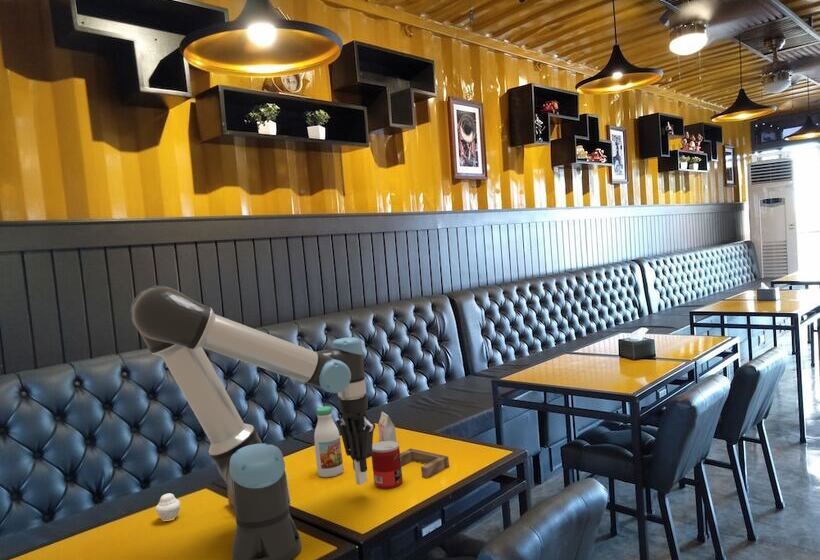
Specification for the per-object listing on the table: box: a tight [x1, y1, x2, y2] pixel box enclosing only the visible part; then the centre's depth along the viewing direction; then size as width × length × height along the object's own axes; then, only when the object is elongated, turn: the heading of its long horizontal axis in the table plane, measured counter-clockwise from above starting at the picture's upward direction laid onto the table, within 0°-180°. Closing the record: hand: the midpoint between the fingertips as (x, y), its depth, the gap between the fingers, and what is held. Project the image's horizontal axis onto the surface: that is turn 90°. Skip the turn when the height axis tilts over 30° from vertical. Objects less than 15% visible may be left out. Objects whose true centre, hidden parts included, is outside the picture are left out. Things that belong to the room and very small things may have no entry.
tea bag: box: [377, 411, 397, 442], centre depth 200 cm, size 4×7×10 cm, turn 22°
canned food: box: [371, 441, 403, 490], centre depth 165 cm, size 8×8×11 cm
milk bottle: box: [313, 405, 344, 478], centre depth 177 cm, size 8×8×20 cm
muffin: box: [155, 492, 181, 521], centre depth 156 cm, size 6×6×7 cm
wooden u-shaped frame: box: [400, 448, 450, 479], centre depth 175 cm, size 10×15×3 cm, turn 48°
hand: (361, 482), depth 158 cm, fingers closed
